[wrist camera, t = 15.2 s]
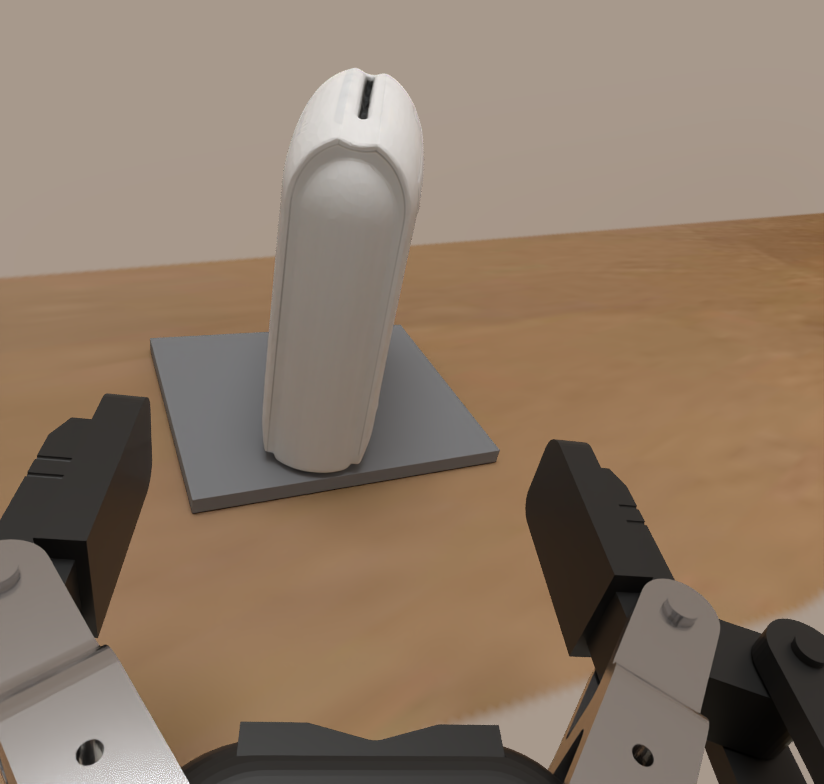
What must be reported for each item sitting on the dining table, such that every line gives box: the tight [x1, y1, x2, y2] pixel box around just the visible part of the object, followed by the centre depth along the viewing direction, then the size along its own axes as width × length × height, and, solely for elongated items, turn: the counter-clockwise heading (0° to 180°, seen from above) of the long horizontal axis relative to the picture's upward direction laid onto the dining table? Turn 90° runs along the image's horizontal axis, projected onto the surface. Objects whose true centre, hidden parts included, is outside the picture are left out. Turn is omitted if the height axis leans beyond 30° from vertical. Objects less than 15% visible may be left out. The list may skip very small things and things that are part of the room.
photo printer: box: [262, 68, 424, 473], centre depth 24 cm, size 10×4×12 cm, turn 1°
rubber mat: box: [150, 325, 500, 513], centre depth 28 cm, size 12×10×1 cm
